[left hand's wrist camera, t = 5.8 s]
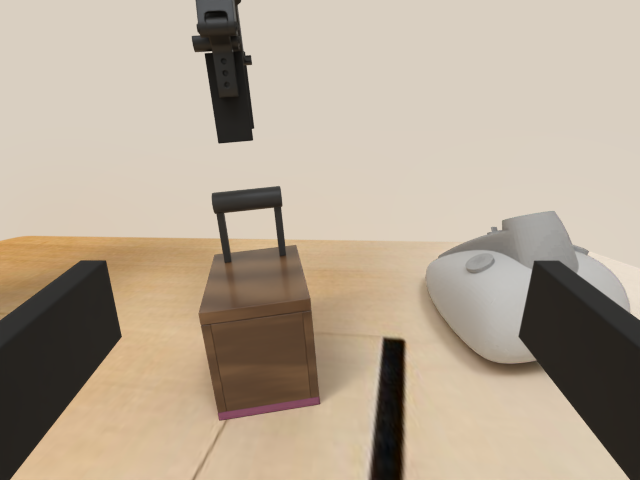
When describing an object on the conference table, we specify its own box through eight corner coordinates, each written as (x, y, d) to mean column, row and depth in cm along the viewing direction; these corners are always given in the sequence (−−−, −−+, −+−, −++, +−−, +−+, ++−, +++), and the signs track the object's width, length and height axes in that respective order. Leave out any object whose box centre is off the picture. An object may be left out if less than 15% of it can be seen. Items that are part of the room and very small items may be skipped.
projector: (613, 296, 51) (635, 182, 46) (631, 420, 33) (670, 253, 28) (437, 270, 62) (439, 175, 57) (378, 351, 44) (374, 223, 39)
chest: (228, 341, 49) (215, 266, 45) (304, 330, 50) (297, 256, 46) (219, 420, 37) (200, 326, 33) (320, 403, 38) (311, 310, 34)
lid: (216, 263, 46) (203, 189, 43) (297, 254, 47) (289, 180, 44) (200, 325, 33) (181, 225, 30) (311, 310, 34) (302, 212, 31)
